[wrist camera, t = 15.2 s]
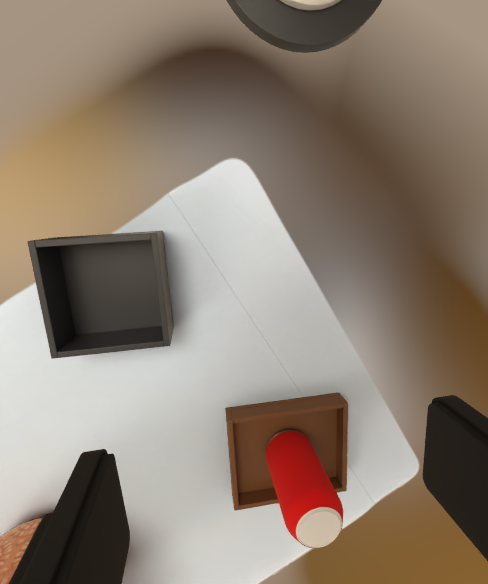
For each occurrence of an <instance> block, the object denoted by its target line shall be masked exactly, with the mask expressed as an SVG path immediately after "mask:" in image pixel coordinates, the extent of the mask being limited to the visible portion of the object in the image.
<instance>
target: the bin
mask: <svg viewBox="0 0 488 584" xmlns="http://www.w3.org/2000/svg"><path fill="white" fill-rule="evenodd" d="M28 246H29V251H30V256H31V261H32V265H33V270H34V275H35V280H36V285H37V290H38V295H39V299H40V304H41V309H42V314H43V319H44V324H45V328H46V333H47V338H48V343H49V348H50V353H51V357H52V358H61V357H70V356H80V355H89V354H98V353H107V352H117V351H126V350H135V349H144V348H153V347H163V346H170V343H171V338H172V333H173V319H172V310H171V301H170V292H169V283H168V274H167V265H166V257H165V248H164V239H163V231H152V232H137V233H121V234H106V235H89V236H76V237H75V236H74V237H58V238H48V239H41V240H33V241H28Z"/></svg>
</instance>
